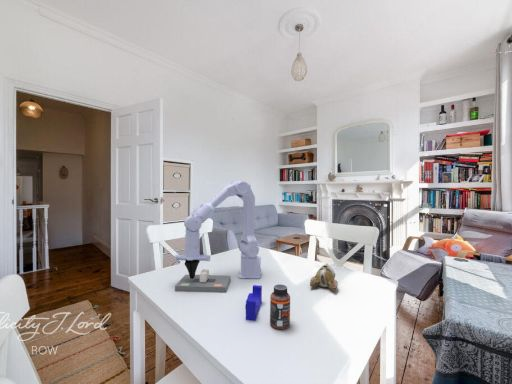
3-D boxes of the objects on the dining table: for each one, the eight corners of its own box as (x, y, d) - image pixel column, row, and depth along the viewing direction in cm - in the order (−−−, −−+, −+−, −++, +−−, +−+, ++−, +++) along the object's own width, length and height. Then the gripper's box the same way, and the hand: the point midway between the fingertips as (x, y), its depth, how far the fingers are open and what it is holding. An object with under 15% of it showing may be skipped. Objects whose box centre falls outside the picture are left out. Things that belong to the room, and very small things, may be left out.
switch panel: (230, 280, 103) (230, 275, 103) (225, 292, 91) (226, 287, 91) (185, 279, 103) (185, 274, 103) (175, 291, 91) (175, 285, 91)
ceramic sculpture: (339, 261, 102) (336, 275, 89) (339, 280, 103) (336, 297, 89) (315, 258, 107) (308, 271, 93) (315, 276, 107) (308, 292, 94)
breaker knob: (208, 277, 99) (208, 269, 99) (205, 282, 94) (205, 273, 94) (202, 277, 100) (203, 269, 99) (199, 282, 94) (199, 273, 94)
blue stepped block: (249, 301, 84) (249, 284, 84) (261, 302, 83) (261, 285, 83) (241, 319, 72) (241, 300, 72) (255, 321, 72) (255, 302, 72)
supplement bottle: (284, 332, 66) (285, 293, 66) (266, 326, 69) (266, 288, 69) (293, 322, 71) (293, 285, 71) (275, 316, 74) (275, 281, 74)
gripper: (171, 247, 93) (171, 281, 93) (207, 248, 93) (207, 282, 93) (177, 243, 100) (177, 274, 100) (211, 243, 100) (211, 275, 100)
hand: (192, 277), depth 97 cm, fingers closed
